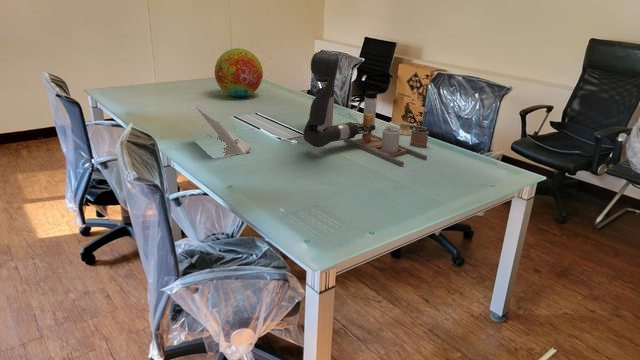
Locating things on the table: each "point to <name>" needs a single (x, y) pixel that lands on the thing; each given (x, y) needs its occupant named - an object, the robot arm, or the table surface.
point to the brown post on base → (375, 139)
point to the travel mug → (370, 104)
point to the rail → (384, 156)
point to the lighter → (419, 137)
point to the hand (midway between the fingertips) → (371, 126)
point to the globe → (238, 72)
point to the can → (390, 139)
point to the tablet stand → (226, 136)
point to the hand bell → (405, 122)
